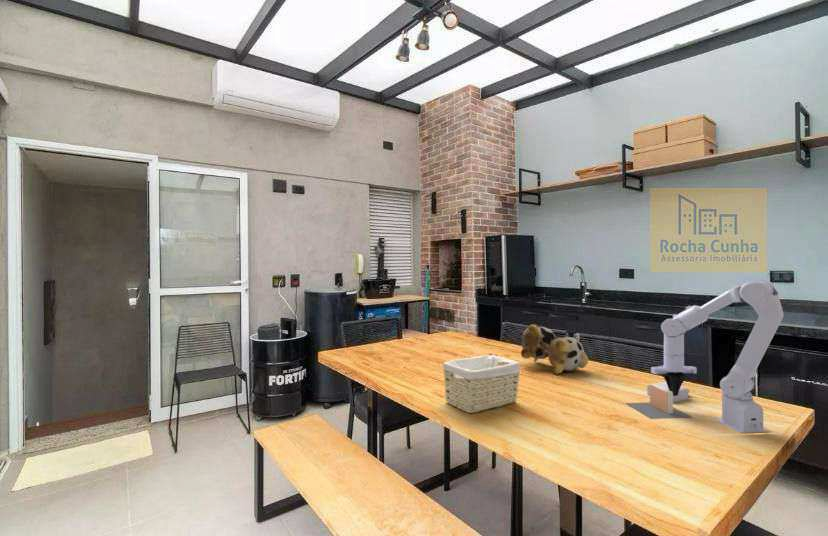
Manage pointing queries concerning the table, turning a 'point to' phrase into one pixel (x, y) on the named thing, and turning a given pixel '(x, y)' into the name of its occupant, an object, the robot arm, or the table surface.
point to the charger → (681, 396)
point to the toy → (553, 349)
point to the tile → (661, 398)
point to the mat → (656, 411)
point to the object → (481, 382)
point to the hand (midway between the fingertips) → (673, 394)
